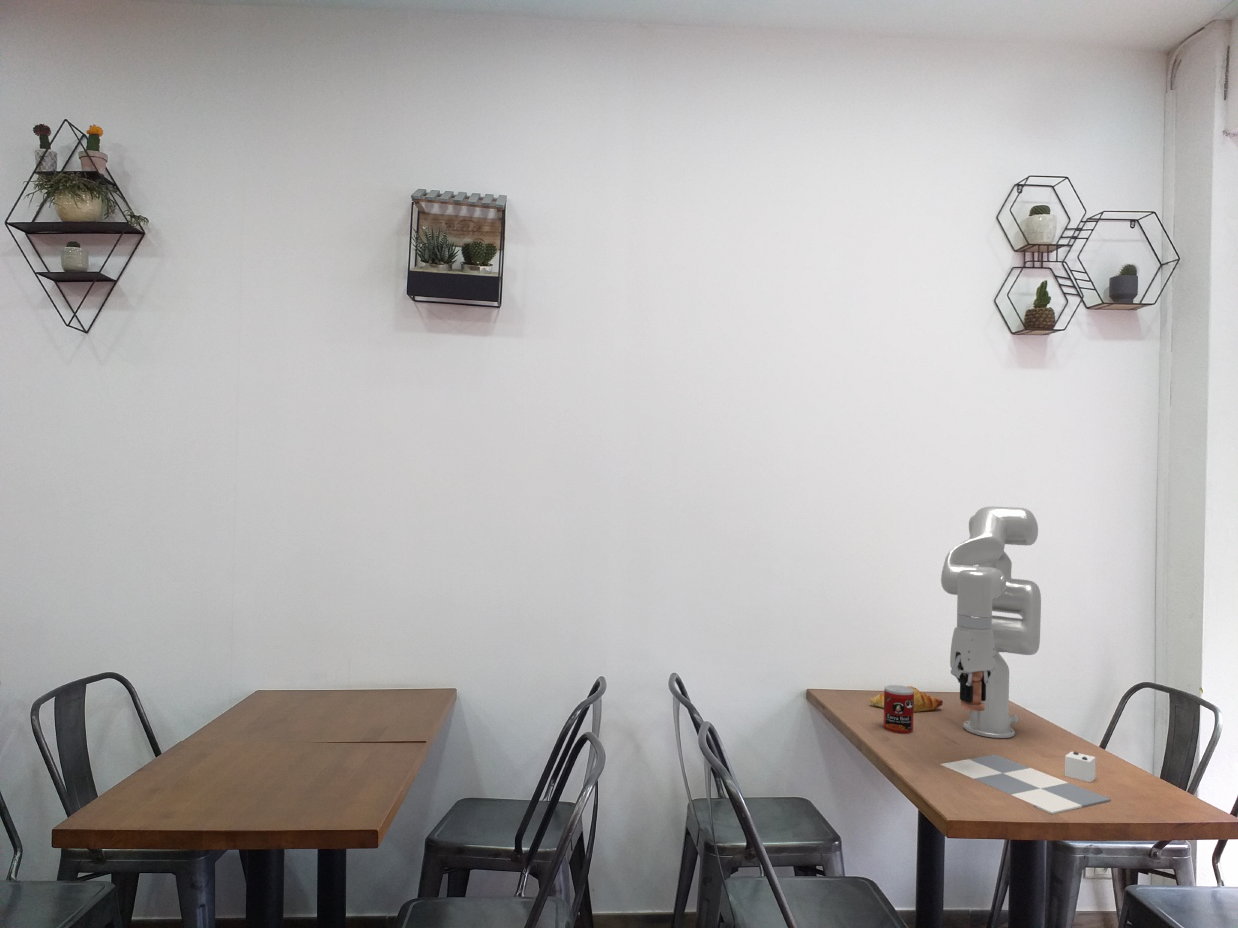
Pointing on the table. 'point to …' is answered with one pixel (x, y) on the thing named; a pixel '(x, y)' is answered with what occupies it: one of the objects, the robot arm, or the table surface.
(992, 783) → the board
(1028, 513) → the robot arm
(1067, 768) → the die
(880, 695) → the croissant
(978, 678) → the pawn
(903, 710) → the canned food
